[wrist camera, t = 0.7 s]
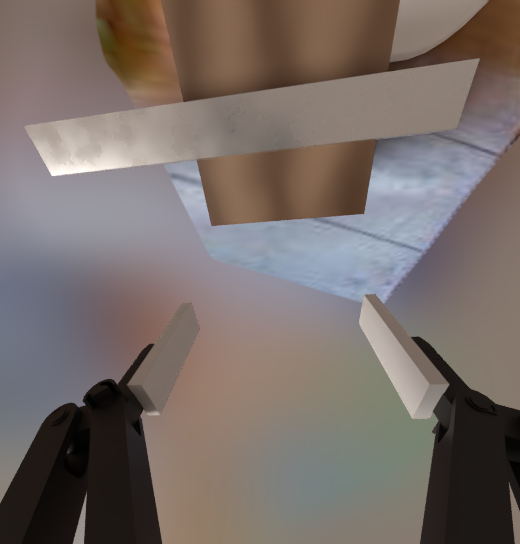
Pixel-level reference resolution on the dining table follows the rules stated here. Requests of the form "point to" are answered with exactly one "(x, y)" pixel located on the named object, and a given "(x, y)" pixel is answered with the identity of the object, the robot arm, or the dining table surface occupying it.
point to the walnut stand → (276, 74)
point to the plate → (429, 24)
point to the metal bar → (261, 121)
